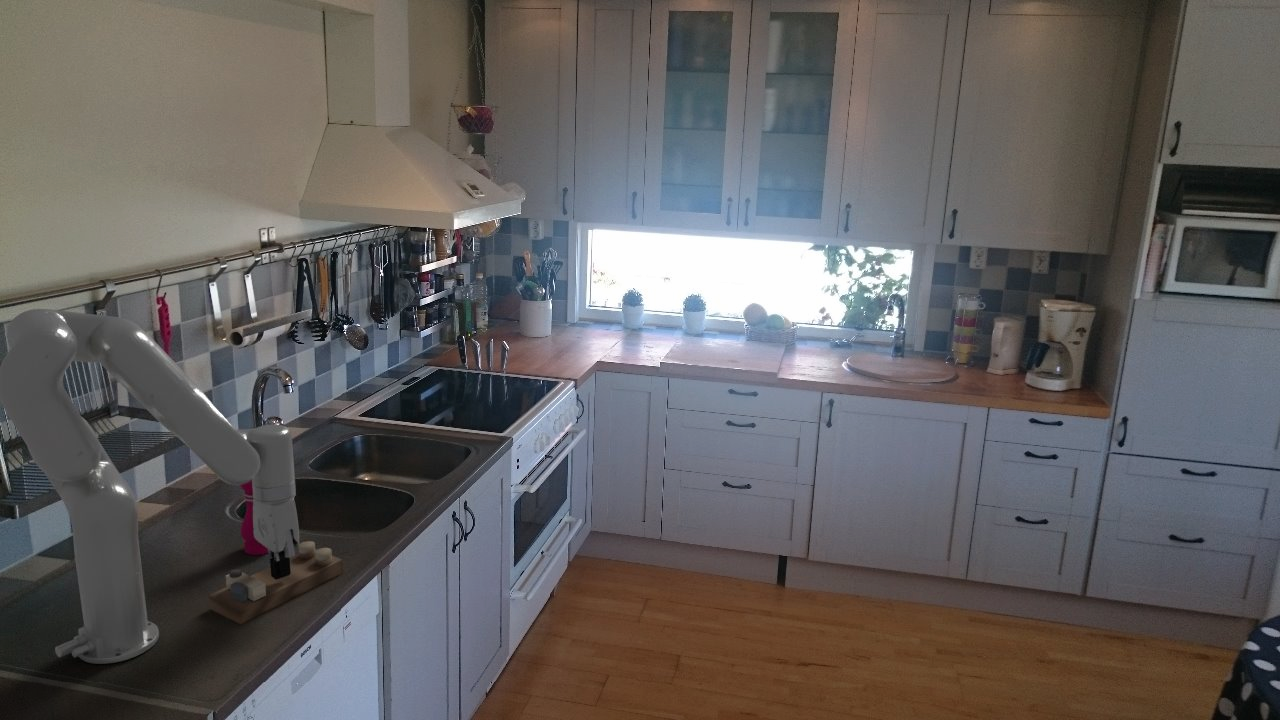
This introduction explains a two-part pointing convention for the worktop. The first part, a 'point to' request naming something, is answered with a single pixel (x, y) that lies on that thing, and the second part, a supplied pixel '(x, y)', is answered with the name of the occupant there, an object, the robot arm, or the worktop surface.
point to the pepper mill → (250, 524)
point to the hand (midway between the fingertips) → (281, 575)
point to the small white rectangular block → (247, 584)
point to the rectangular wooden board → (278, 584)
